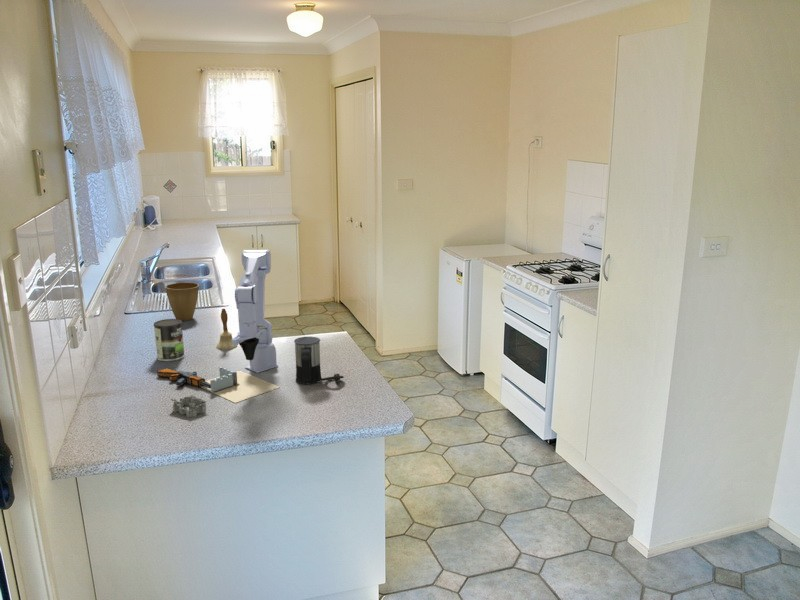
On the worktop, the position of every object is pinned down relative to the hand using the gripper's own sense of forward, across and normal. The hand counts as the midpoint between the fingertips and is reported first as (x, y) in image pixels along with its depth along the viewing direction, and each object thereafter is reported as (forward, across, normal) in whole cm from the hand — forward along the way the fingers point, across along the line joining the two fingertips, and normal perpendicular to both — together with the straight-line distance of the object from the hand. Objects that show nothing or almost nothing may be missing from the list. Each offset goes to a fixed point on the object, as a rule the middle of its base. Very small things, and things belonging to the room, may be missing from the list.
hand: (249, 359), depth 224 cm
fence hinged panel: (+9, +6, -7) cm, 13 cm away
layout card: (+10, +2, -5) cm, 11 cm away
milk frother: (+10, -15, +18) cm, 26 cm away
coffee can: (+10, -10, -48) cm, 50 cm away
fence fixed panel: (+10, 0, -10) cm, 14 cm away
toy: (+10, +7, -23) cm, 26 cm away
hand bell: (+10, -30, -38) cm, 49 cm away
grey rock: (+10, +24, -4) cm, 27 cm away
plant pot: (+10, -52, -83) cm, 99 cm away
